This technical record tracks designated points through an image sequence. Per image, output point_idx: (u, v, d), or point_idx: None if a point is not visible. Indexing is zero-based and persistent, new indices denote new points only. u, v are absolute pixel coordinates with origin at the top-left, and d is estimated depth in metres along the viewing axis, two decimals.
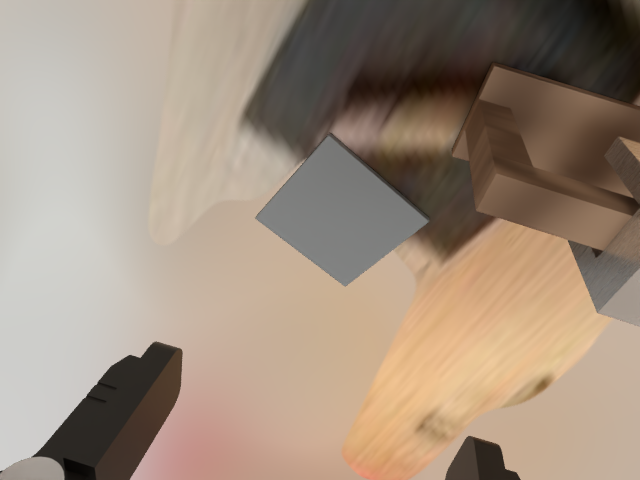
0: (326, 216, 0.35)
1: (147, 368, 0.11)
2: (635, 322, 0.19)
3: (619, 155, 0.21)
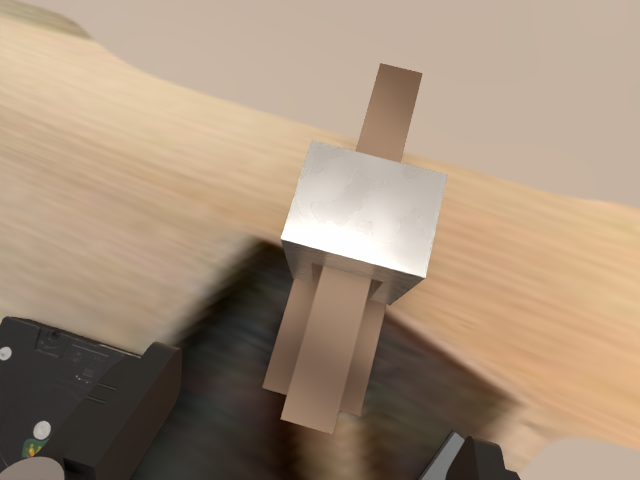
0: None
1: (147, 368, 0.11)
2: (430, 233, 0.15)
3: (301, 276, 0.21)
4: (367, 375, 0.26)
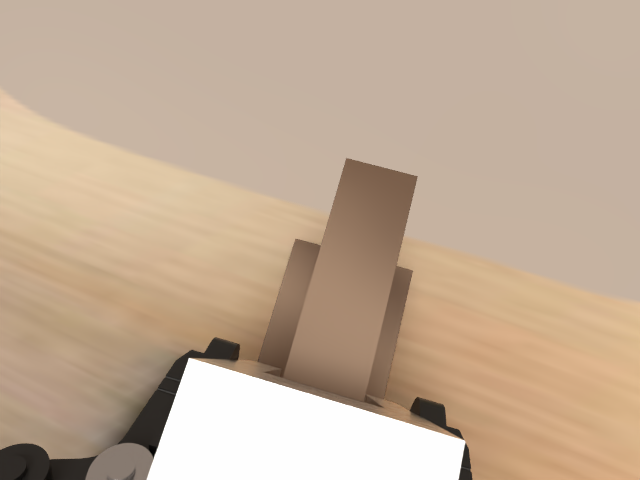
0: None
1: None
2: None
3: None
4: None
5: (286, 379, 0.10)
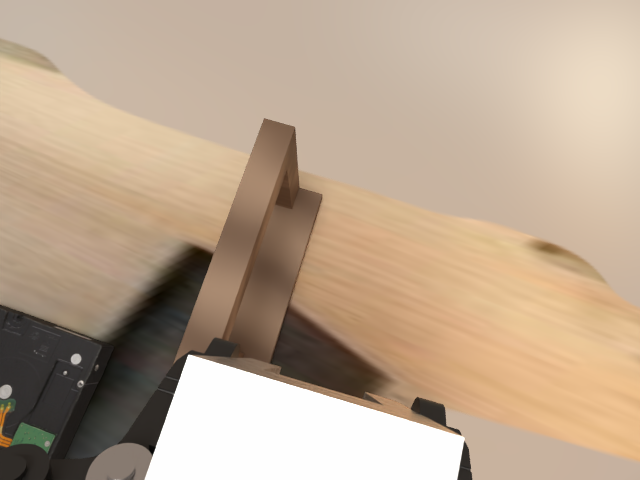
0: None
1: None
2: None
3: None
4: (269, 356, 0.33)
5: (285, 376, 0.10)
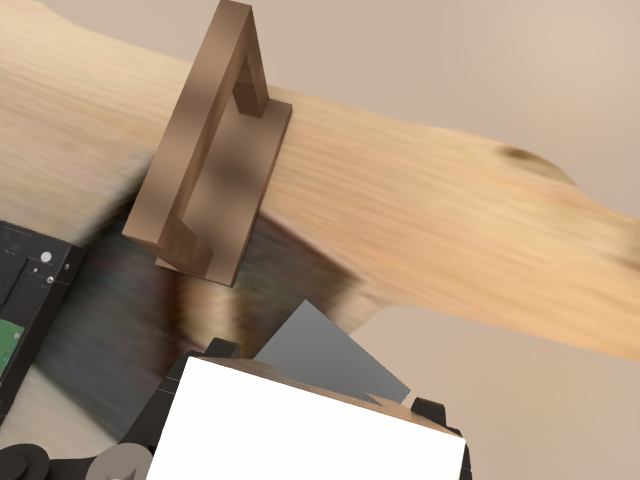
0: None
1: None
2: None
3: None
4: (238, 255, 0.33)
5: (286, 378, 0.10)
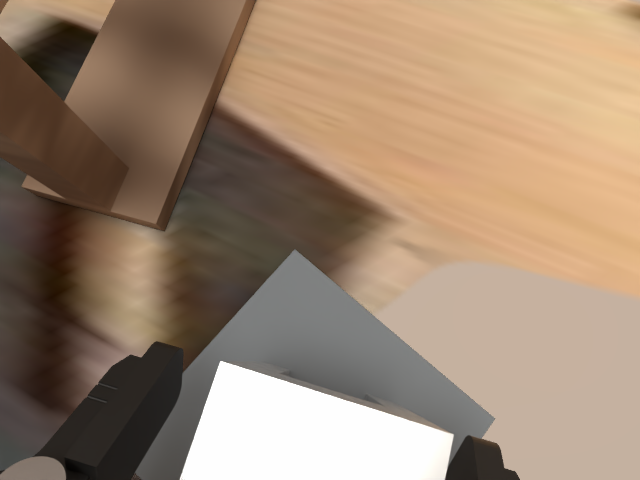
0: None
1: (148, 368, 0.11)
2: None
3: None
4: (173, 172, 0.18)
5: (299, 380, 0.12)
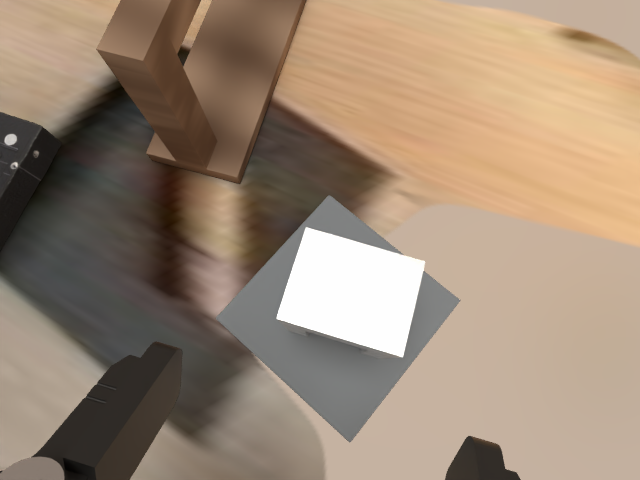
0: None
1: (147, 368, 0.11)
2: (409, 316, 0.17)
3: (296, 332, 0.23)
4: (247, 143, 0.27)
5: None
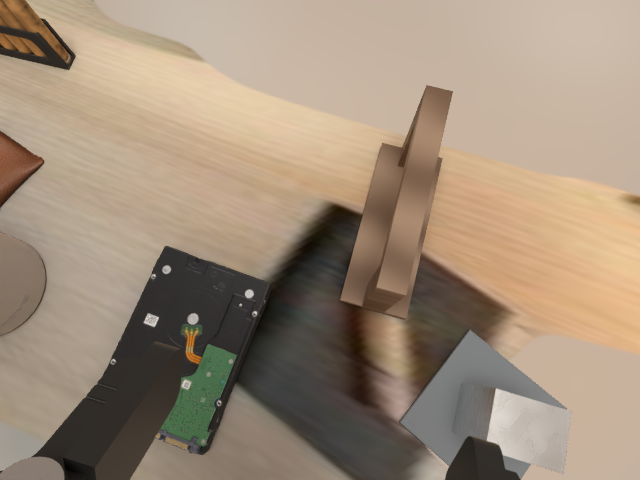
0: None
1: (147, 368, 0.11)
2: (565, 447, 0.29)
3: None
4: (410, 292, 0.39)
5: None
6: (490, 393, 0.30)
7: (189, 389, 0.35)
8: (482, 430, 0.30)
